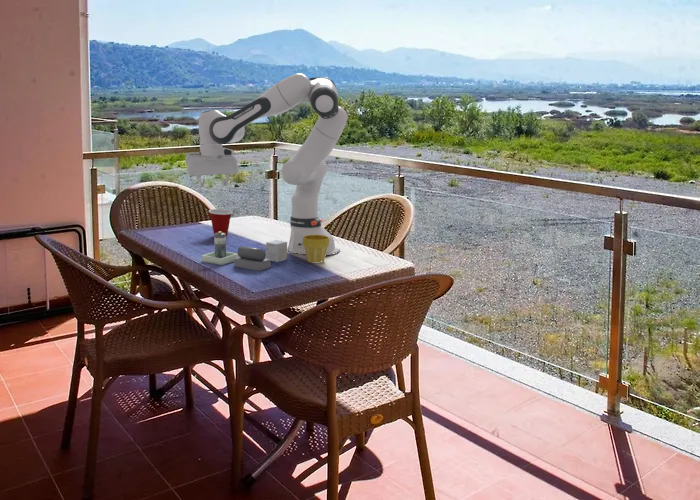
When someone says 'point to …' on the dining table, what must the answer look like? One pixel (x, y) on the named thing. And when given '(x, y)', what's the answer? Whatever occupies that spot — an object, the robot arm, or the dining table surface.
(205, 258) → the tray
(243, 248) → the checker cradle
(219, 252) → the battery cell
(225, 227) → the plastic cup
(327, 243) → the plant pot
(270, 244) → the product box
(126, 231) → the dining table surface
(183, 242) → the dining table surface
